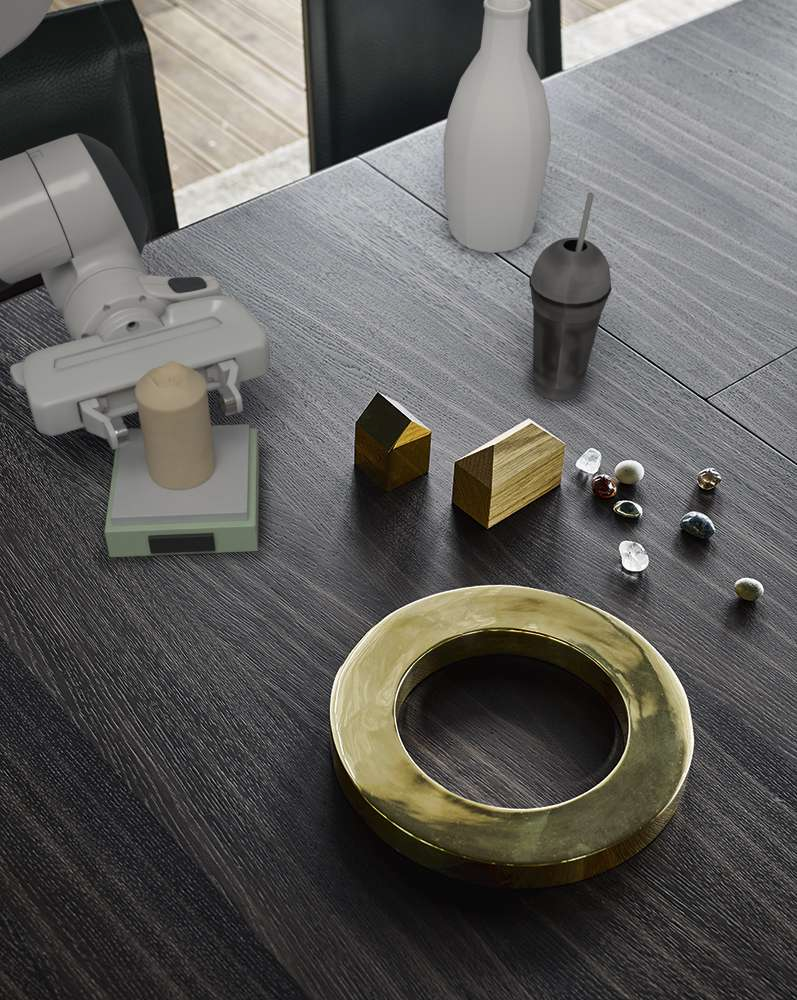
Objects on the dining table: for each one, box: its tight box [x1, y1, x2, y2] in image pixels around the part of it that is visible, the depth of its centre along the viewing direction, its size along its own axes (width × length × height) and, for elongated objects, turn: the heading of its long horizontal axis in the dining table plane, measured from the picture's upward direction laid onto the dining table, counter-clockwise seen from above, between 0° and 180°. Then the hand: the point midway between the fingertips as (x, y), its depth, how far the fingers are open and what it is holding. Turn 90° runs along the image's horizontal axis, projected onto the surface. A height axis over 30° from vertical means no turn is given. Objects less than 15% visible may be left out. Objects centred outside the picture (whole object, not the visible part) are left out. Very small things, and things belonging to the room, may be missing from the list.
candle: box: [135, 361, 215, 490], centre depth 100 cm, size 6×6×10 cm
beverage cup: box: [528, 191, 612, 402], centre depth 112 cm, size 7×7×20 cm
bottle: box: [443, 0, 552, 254], centre depth 129 cm, size 11×11×25 cm
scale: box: [103, 423, 260, 558], centre depth 105 cm, size 12×12×4 cm
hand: (178, 424), depth 99 cm, fingers open, 8 cm apart
